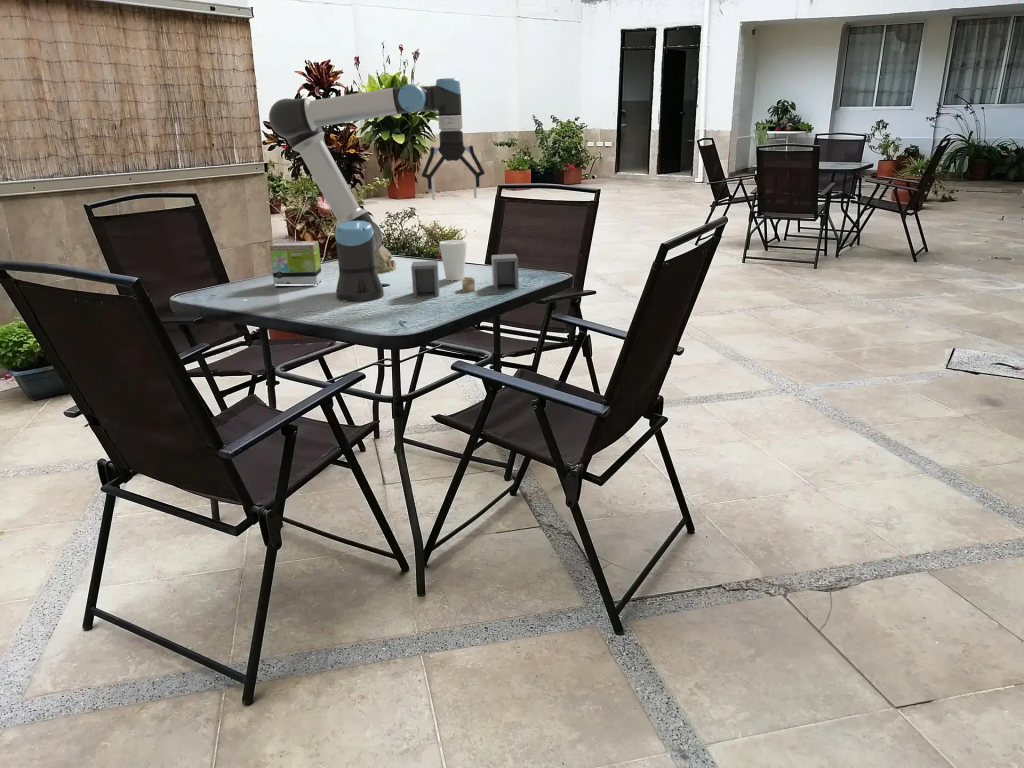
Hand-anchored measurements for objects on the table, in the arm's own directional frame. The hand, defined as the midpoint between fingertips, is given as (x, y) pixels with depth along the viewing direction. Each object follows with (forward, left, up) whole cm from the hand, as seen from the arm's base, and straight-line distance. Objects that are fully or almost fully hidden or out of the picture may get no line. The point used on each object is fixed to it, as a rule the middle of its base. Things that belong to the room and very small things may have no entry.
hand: (454, 198), depth 256 cm
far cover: (+16, +3, -29) cm, 33 cm away
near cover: (-3, -16, -29) cm, 33 cm away
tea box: (-56, -16, -29) cm, 65 cm away
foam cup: (-7, +9, -29) cm, 31 cm away
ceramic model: (-44, +16, -29) cm, 55 cm away
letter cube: (+7, -6, -29) cm, 30 cm away
